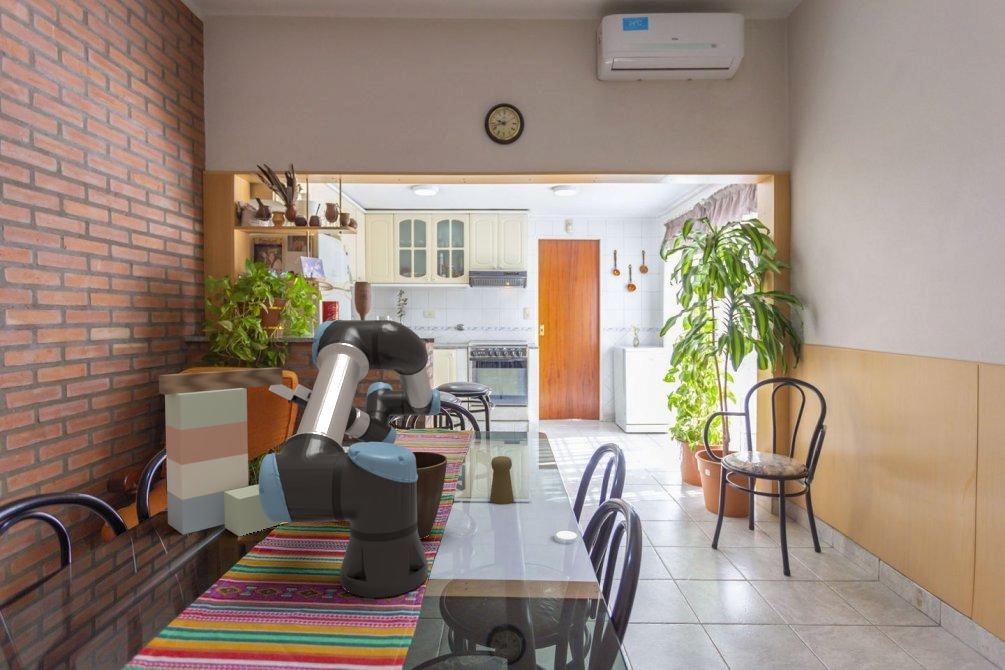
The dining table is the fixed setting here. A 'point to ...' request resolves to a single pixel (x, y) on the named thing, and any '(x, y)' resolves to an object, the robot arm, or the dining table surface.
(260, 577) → the dining table surface
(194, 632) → the dining table surface
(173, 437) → the brick tower
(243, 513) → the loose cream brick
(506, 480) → the cork
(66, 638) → the dining table surface
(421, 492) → the plant pot
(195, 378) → the walnut bar
